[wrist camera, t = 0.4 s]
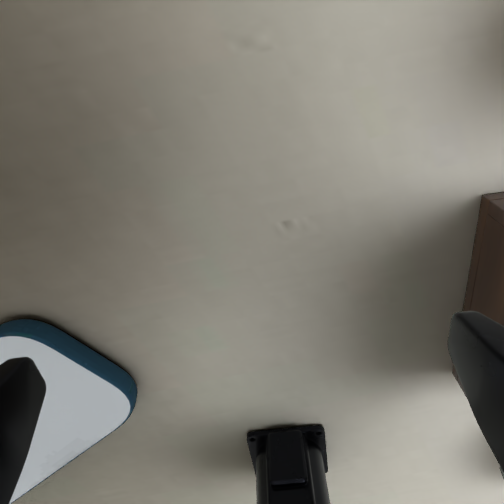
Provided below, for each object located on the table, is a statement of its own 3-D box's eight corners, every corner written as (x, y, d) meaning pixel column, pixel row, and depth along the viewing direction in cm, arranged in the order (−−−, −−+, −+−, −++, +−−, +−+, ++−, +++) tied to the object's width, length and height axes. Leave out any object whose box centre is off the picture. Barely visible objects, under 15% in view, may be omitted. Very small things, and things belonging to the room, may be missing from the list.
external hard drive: (21, 296, 25) (4, 317, 24) (158, 383, 30) (152, 406, 28) (-121, 446, 33) (-141, 468, 32) (2, 497, 38) (-9, 519, 36)
